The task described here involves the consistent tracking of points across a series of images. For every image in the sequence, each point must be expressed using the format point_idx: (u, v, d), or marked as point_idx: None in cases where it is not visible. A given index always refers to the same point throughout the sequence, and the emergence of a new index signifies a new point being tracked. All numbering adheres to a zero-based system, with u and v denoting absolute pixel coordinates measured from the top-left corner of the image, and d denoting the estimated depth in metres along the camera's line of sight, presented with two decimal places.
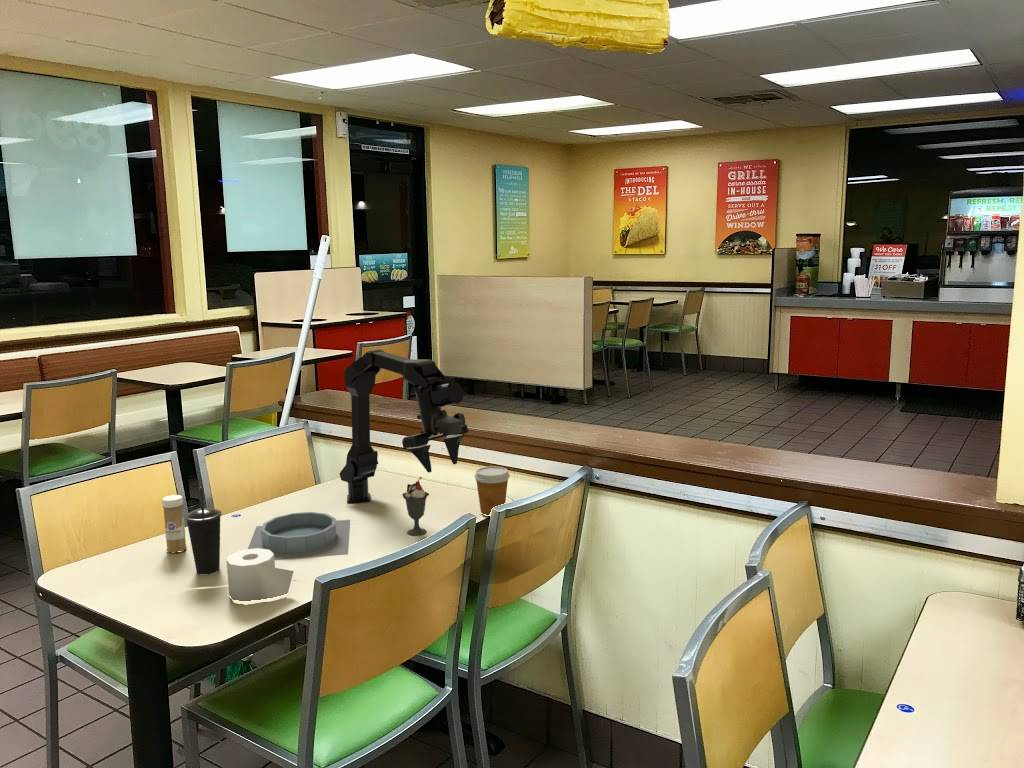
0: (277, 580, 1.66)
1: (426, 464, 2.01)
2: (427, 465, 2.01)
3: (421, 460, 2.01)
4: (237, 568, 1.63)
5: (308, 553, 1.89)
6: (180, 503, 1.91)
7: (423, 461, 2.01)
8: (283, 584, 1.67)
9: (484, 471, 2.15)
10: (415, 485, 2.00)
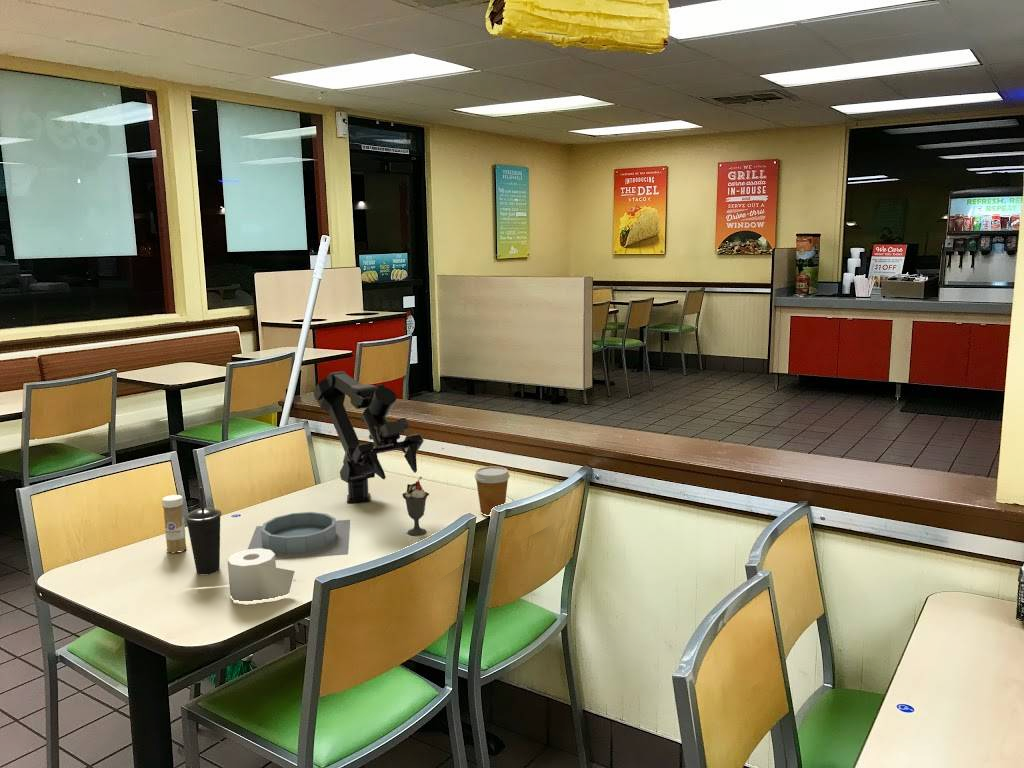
0: (278, 580, 1.66)
1: (379, 471, 2.04)
2: (379, 471, 2.04)
3: (374, 470, 2.06)
4: (238, 568, 1.63)
5: (308, 553, 1.89)
6: (180, 503, 1.91)
7: (376, 469, 2.05)
8: (284, 584, 1.67)
9: (484, 471, 2.15)
10: (415, 485, 2.00)
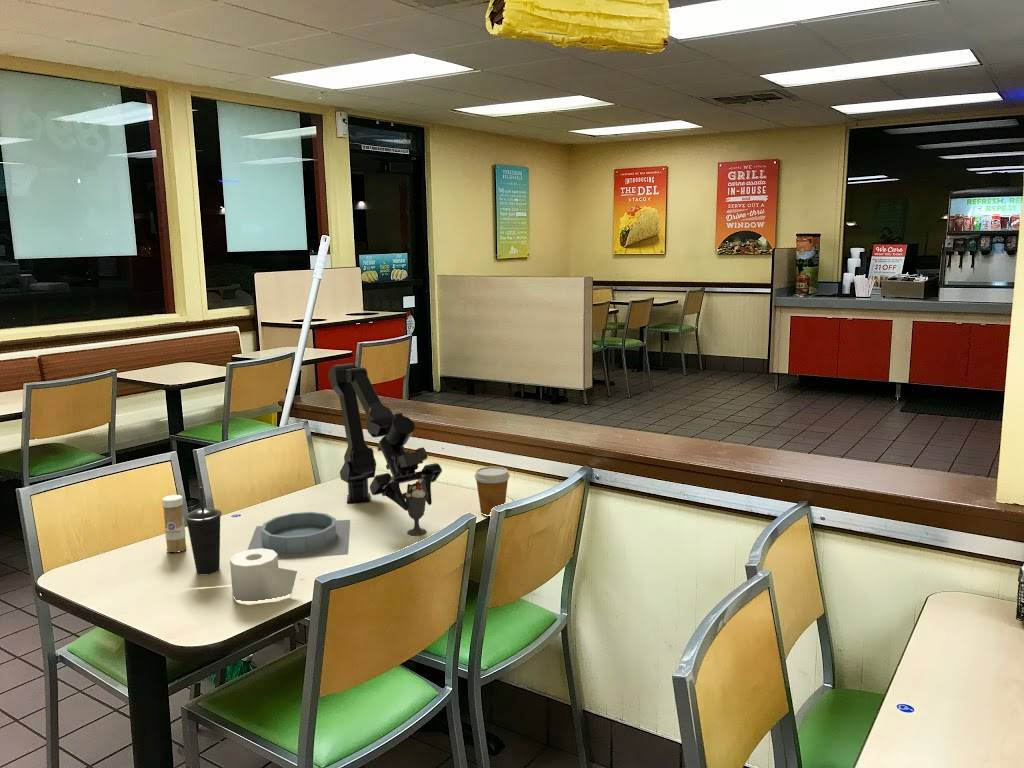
0: (280, 580, 1.66)
1: (401, 502, 1.99)
2: (402, 503, 1.99)
3: (396, 501, 2.00)
4: (240, 568, 1.63)
5: (308, 553, 1.89)
6: (180, 503, 1.91)
7: (398, 500, 2.00)
8: (286, 584, 1.67)
9: (484, 471, 2.15)
10: (415, 485, 2.00)
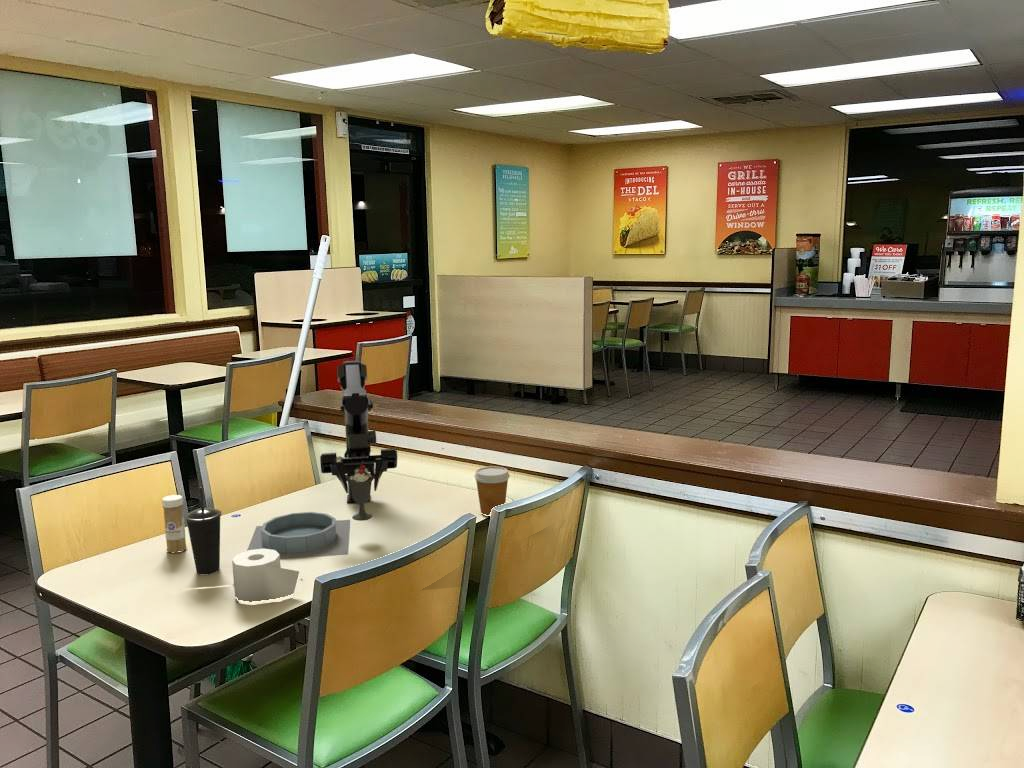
0: (282, 580, 1.66)
1: (343, 484, 1.94)
2: (343, 484, 1.94)
3: (341, 482, 1.96)
4: (242, 568, 1.63)
5: (308, 553, 1.89)
6: (180, 503, 1.91)
7: (342, 482, 1.95)
8: (289, 584, 1.67)
9: (484, 471, 2.15)
10: (359, 468, 1.94)
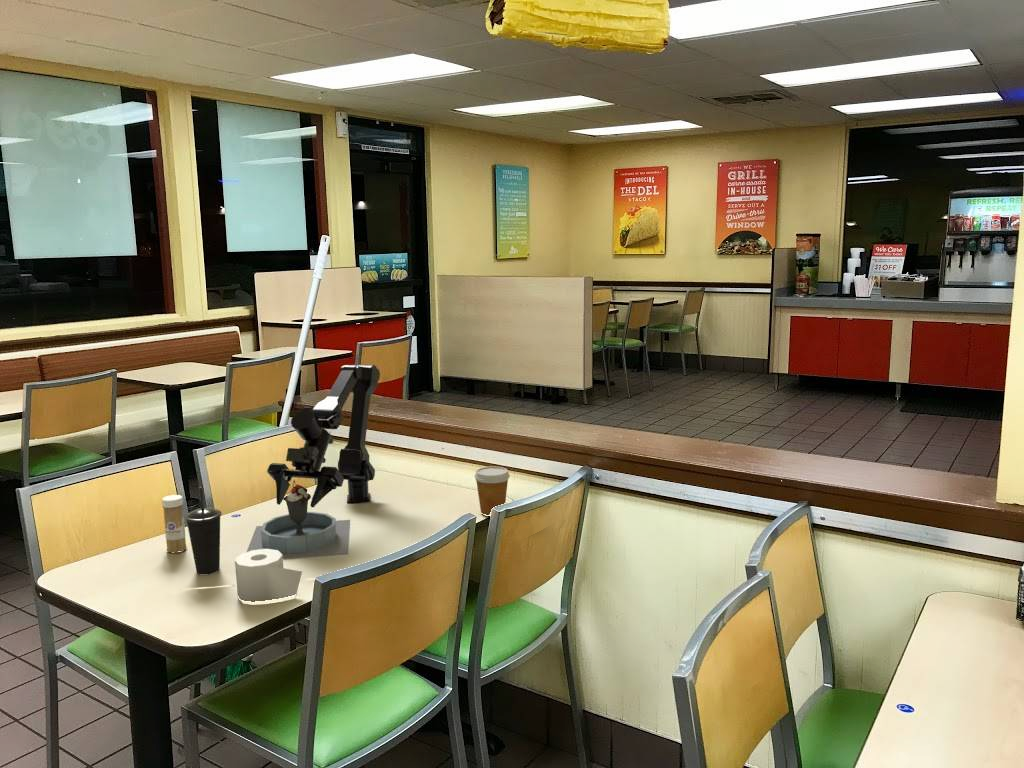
0: (285, 581, 1.66)
1: None
2: None
3: None
4: (245, 569, 1.63)
5: (308, 553, 1.89)
6: (180, 503, 1.91)
7: None
8: (291, 585, 1.67)
9: (484, 471, 2.15)
10: (293, 488, 1.96)
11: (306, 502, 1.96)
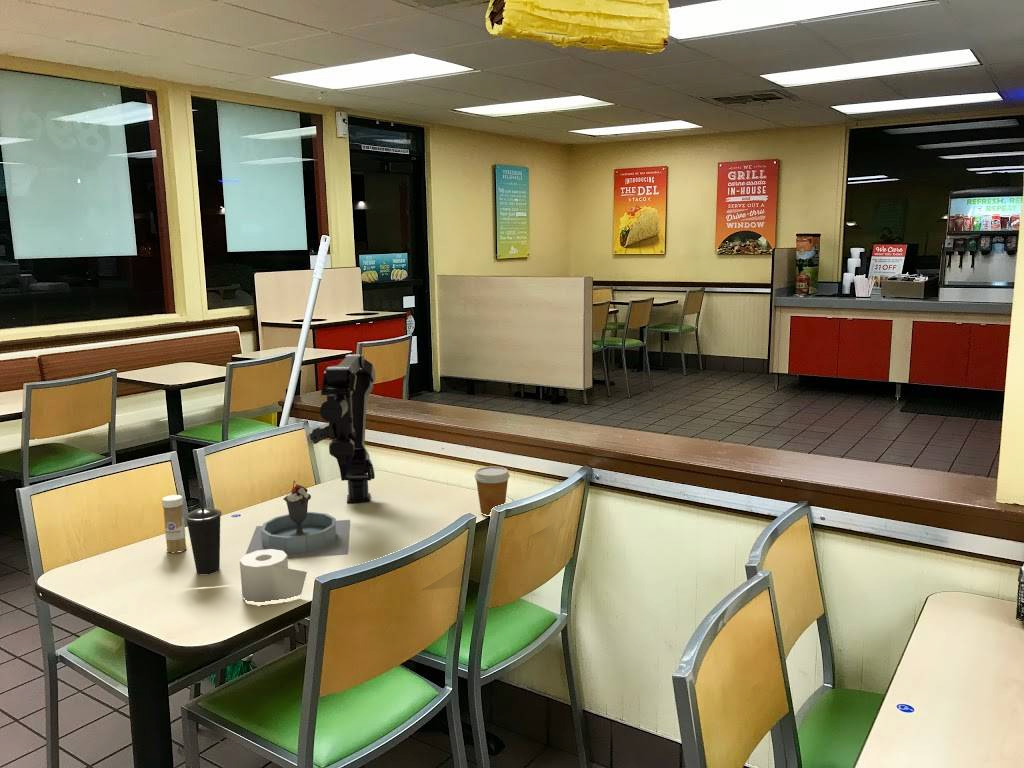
0: (290, 581, 1.65)
1: None
2: None
3: None
4: (250, 569, 1.62)
5: (308, 553, 1.89)
6: (180, 503, 1.91)
7: None
8: (296, 585, 1.66)
9: (484, 471, 2.15)
10: None
11: (306, 502, 1.96)
